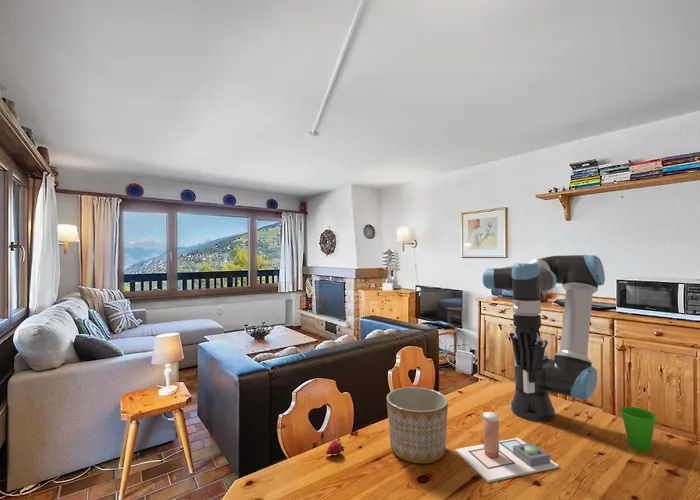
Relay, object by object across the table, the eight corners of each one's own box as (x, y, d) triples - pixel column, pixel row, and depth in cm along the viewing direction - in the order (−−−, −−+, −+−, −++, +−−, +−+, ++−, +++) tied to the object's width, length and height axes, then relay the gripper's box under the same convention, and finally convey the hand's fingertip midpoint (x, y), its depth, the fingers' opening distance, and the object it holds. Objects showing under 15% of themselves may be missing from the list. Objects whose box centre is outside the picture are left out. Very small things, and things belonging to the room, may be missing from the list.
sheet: (455, 451, 108) (455, 448, 108) (518, 439, 114) (518, 437, 114) (487, 482, 93) (487, 480, 93) (558, 467, 99) (558, 464, 99)
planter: (453, 441, 114) (452, 391, 114) (443, 475, 96) (442, 416, 97) (397, 430, 122) (396, 383, 122) (379, 459, 104) (378, 404, 105)
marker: (481, 451, 106) (479, 413, 107) (493, 449, 107) (492, 411, 108) (490, 459, 102) (489, 419, 102) (502, 457, 103) (501, 417, 104)
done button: (521, 454, 104) (521, 446, 104) (531, 452, 105) (531, 444, 105) (530, 460, 100) (530, 452, 100) (540, 458, 101) (540, 450, 101)
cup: (665, 456, 103) (664, 420, 104) (631, 454, 105) (630, 417, 105) (646, 441, 112) (645, 407, 112) (615, 438, 114) (613, 405, 114)
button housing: (513, 454, 105) (512, 446, 105) (531, 450, 107) (531, 442, 107) (530, 467, 98) (530, 458, 98) (550, 463, 100) (550, 454, 100)
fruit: (323, 453, 108) (323, 437, 108) (341, 450, 110) (341, 434, 110) (326, 461, 104) (326, 444, 104) (345, 457, 106) (345, 440, 106)
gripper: (501, 311, 109) (503, 385, 108) (533, 317, 97) (535, 402, 96) (521, 310, 111) (523, 383, 110) (554, 316, 99) (557, 398, 98)
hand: (529, 391), depth 103 cm, fingers closed
